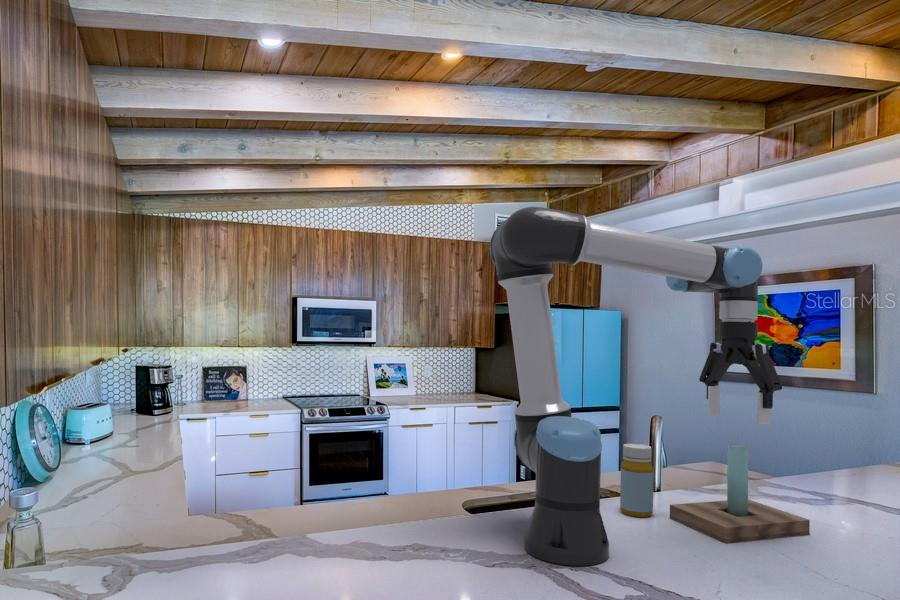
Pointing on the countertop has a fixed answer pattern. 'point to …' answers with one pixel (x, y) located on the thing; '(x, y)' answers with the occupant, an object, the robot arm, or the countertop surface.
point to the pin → (737, 480)
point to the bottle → (636, 481)
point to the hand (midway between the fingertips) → (737, 419)
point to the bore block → (739, 521)
